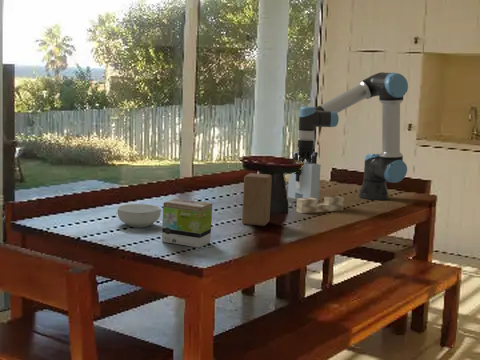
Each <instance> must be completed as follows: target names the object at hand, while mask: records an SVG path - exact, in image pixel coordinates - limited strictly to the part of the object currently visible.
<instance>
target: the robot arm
mask: <svg viewBox="0 0 480 360" xmlns="http://www.w3.org/2000/svg"><path fill="white" fill-rule="evenodd" d="M408 89H409V83H408V80H407V79H406V77H405V76H404V75H402V74H401V73H399V72H398V73H397V72H385V71H384V72H383V71H382V72H377V73H375V74H373V75H370V76H368V77H367V78H364V79H363V80H361V81H359V82H358V85H356V86H354V87H352V88H350V89H348V90H346V91H344V92H343V93H341V94H339V95H336V96H335V97H333V98H331V99H329V100H328V101H325V102H323V103H322V104H320V105H318V106H316V107H315V106H301V107H300V108H299V114H298V130H297V131H298V133H297V134H298V136H297V138H298V140H297V151H295V152H292V160H293V159H294V160H299V161H302V162H304V161H305V162H309V163H315V164H318V163H317V160H318V158H317V157H318V155H319V152H317V151H314V150H313V149H314V145H315V143H314V142H315V140H314V139H315V128H334V127H337V126H338V124H339V119H340V117H339V113H340V112H342V111H344V110H345V109H349V108H350V107H351V106H353V105H355V104H357V103H359V102H361V101H363V100H369V99H371V98H373V97H379V98H378V99H379V100H378V101H379V102H380V103H381V105H382V106H381V107H382V111H381V113H382V117H381V118H382V119H381V121H382V122H381V123H382V125H381V127H382V131H381V132H382V133H381V135H382V137H381V139H382V140H381V144H382V145H381V149H382V150H381V153H367V154H366V155H365V157H364V168H363V180H362V181H363V182H362V185H361V186H360V189H359V191H358V197H360V198H362V199H365V200H373V201H387V200H388V199H389V191H388V187H387V183H392V184H393V183H394V184H396V183H400V182H401V181H403V180H404V178H405V177H406V176H407V172H408V166H407V164H406V162H405V161H404V155H403V154H402V153H401V149H400V148H401V103H402V102H403V101H404V96H405V95H406V94H407V92H408ZM300 173H301V170H300V171H299V172H296V173H294V174H296V181H297V185H296V188H299V189H301V178H302V175H300Z"/></svg>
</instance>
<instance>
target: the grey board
mask: <svg viewBox="0 0 480 360" xmlns="http://www.w3.org/2000/svg"><path fill="white" fill-rule="evenodd" d="M300 175H302V178H301V189H299V188H296V185H297V181H296V174H294V173H292V174H289V183H288V182H287V183H288V185H287V186H288V187H287V188H288V189H287V198H290V199H294V200H297V198H315V199H317V204H320V203H319V202H320V184H321V164H319V163H317V164H315V163H309V162H306V160H304V165H303V167H302V169H301V173H300Z"/></svg>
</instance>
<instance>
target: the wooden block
mask: <svg viewBox="0 0 480 360" xmlns="http://www.w3.org/2000/svg"><path fill="white" fill-rule="evenodd" d="M272 179H273V176H272V175H271V174H265V173H255V172H253V173H252V172H250V173H248V174H246V175H245V176H244V177H243V193H242V194H243V196H242V198H243V199H242V217H241V223H242V224H243V225H250V226H260V227H265V226H266V225H267V224H268V223H269V222H270V220H271V219H270V215H271V198H272V183H273V182H272Z"/></svg>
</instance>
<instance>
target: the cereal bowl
mask: <svg viewBox="0 0 480 360" xmlns="http://www.w3.org/2000/svg"><path fill="white" fill-rule="evenodd" d="M117 217H118V219H119V220H120V222H122V223H124V224H126V225H128V226H129V227H131V228H146V227H149V226H150V225H151V224H154V223H156V222H158V220H159V219H160V217H161V207H160V206H159V205H154V204H147V203H146V204H145V203H142V204H141V203H133V204H131V203H130V204H123V205H119V206H118V207H117Z"/></svg>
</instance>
